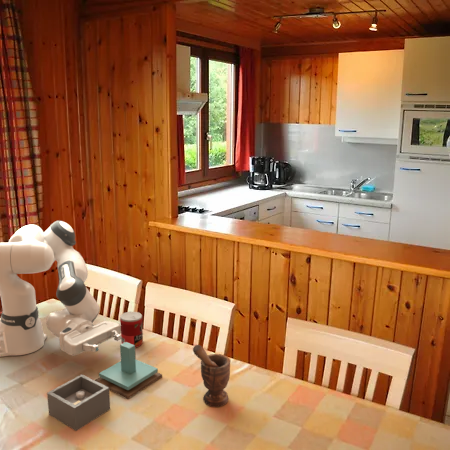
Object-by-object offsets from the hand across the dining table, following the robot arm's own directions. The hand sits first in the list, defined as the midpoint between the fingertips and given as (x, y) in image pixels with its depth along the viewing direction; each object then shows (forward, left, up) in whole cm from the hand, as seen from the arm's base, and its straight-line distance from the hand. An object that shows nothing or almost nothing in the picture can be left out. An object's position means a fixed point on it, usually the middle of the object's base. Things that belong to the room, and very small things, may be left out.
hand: (108, 343), depth 158 cm
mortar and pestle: (+38, +6, -10) cm, 39 cm away
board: (+9, 0, -10) cm, 13 cm away
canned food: (-8, +18, -10) cm, 23 cm away
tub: (+10, -20, -10) cm, 24 cm away
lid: (+9, 0, -9) cm, 13 cm away
